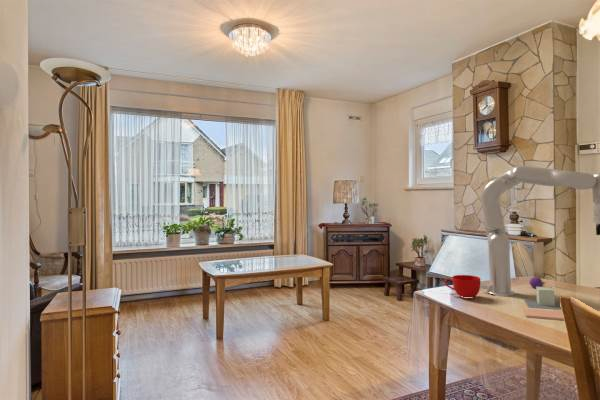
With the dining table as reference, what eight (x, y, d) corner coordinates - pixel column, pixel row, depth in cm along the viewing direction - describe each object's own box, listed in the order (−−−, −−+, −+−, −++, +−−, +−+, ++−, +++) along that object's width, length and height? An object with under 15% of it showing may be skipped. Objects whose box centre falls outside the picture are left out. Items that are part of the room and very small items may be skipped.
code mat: (528, 308, 162) (528, 307, 162) (523, 300, 174) (523, 299, 174) (572, 311, 155) (572, 310, 155) (563, 302, 168) (563, 302, 168)
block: (539, 304, 165) (538, 289, 165) (536, 301, 170) (536, 286, 170) (554, 305, 163) (554, 290, 163) (551, 302, 168) (551, 287, 168)
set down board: (526, 317, 150) (525, 315, 150) (522, 310, 159) (522, 308, 159) (566, 320, 144) (566, 318, 144) (560, 313, 153) (560, 311, 153)
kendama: (544, 275, 208) (543, 279, 192) (542, 285, 208) (541, 290, 192) (532, 272, 212) (530, 276, 195) (530, 282, 212) (528, 287, 195)
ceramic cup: (447, 292, 194) (447, 273, 194) (482, 295, 184) (481, 276, 184) (442, 298, 183) (441, 278, 183) (479, 302, 173) (478, 281, 174)
